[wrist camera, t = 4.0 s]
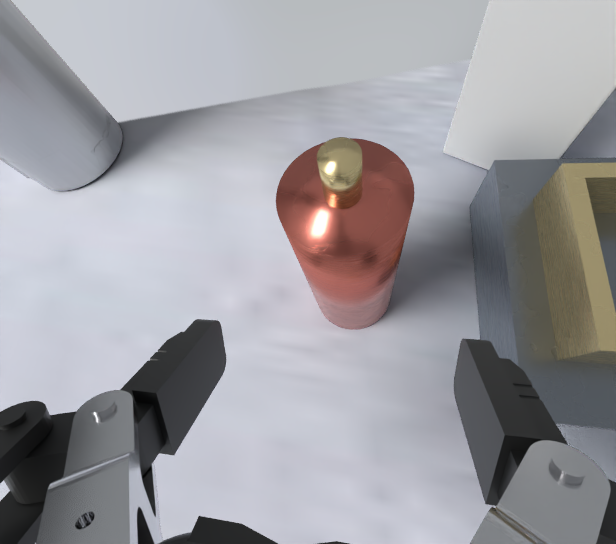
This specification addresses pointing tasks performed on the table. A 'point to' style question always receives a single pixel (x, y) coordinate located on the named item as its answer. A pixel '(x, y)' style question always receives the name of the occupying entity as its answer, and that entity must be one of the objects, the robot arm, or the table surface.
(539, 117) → the milk carton
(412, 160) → the table surface
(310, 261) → the red bottle
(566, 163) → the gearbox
